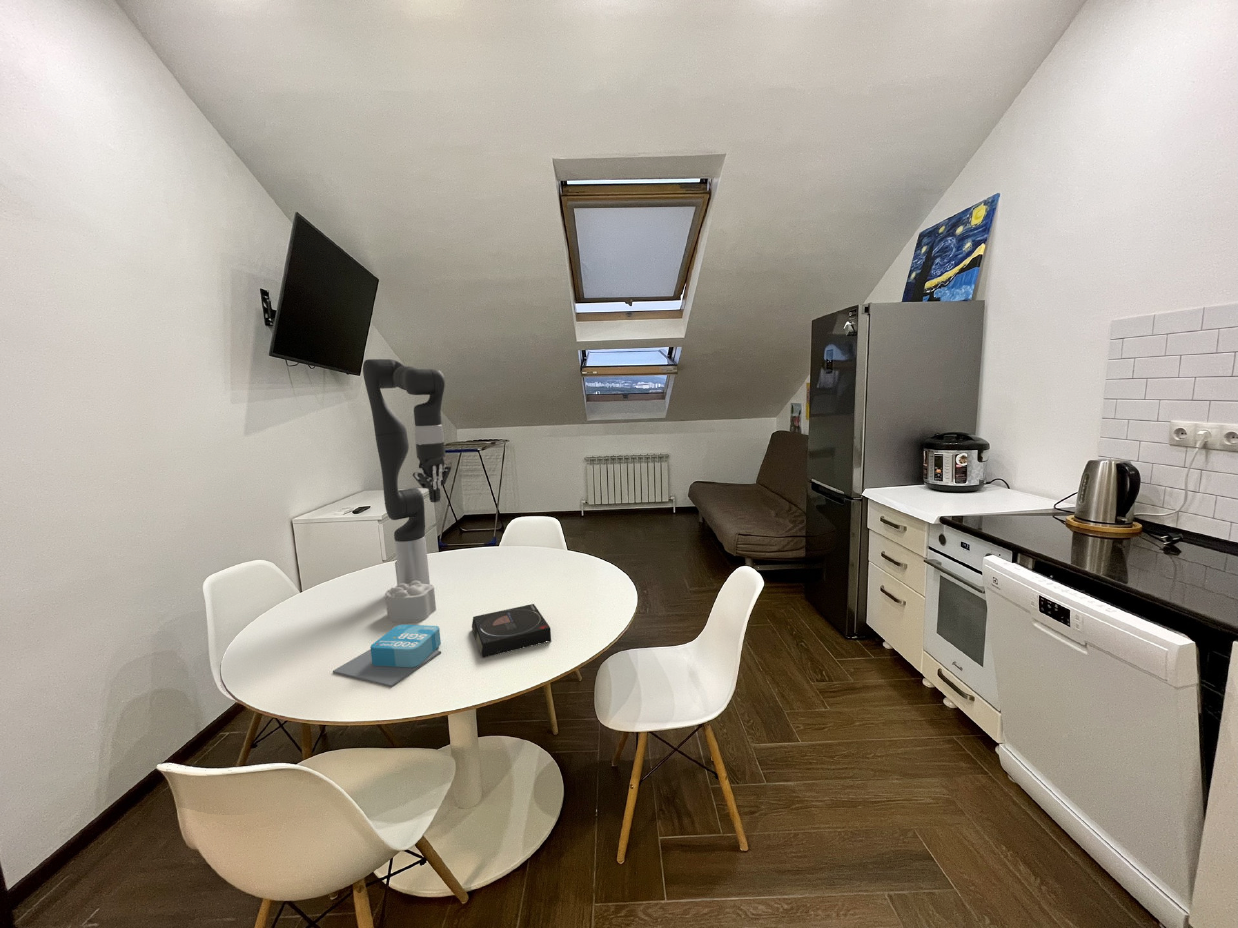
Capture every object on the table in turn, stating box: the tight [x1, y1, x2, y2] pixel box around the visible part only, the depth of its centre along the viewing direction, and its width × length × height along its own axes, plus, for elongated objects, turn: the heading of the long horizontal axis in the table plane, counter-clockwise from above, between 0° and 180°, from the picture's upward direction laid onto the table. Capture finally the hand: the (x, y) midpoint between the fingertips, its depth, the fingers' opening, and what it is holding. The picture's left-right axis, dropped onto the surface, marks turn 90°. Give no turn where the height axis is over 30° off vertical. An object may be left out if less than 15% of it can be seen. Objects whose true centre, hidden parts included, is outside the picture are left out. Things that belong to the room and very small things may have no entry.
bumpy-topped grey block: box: [384, 581, 437, 623], centre depth 142 cm, size 10×13×9 cm
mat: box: [332, 648, 442, 688], centre depth 116 cm, size 18×15×1 cm
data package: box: [369, 624, 442, 668], centre depth 119 cm, size 12×4×12 cm
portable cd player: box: [471, 603, 552, 658], centre depth 127 cm, size 16×17×4 cm
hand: (435, 501), depth 140 cm, fingers closed
